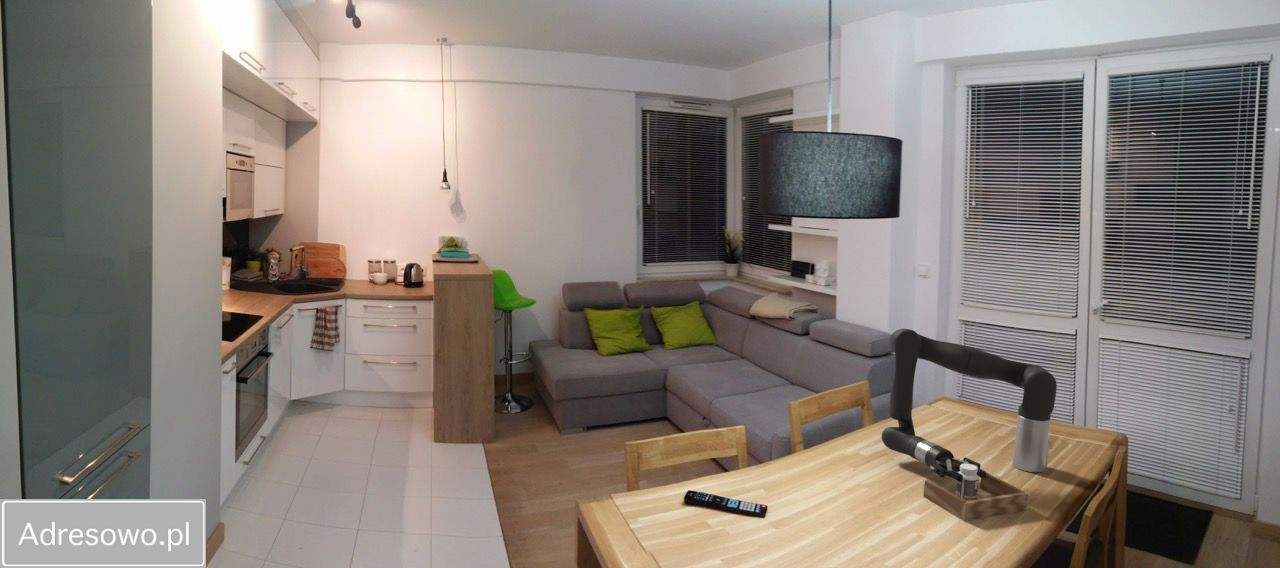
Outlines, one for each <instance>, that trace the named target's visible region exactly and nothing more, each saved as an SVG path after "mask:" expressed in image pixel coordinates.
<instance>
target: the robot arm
mask: <svg viewBox="0 0 1280 568" xmlns="http://www.w3.org/2000/svg"><path fill="white" fill-rule="evenodd" d="M888 343H889V347H890V349H891V350H892V352H893V353H894V358H895V359H894V360H895V369H894V376H893V381H892V384H891V388H890V389H891V390H890V395H889V407H888V415H889V417H890V418H891V419H893V420H895V421H897V422H898V426H889V427H886V428H884V430H883V431H882V433H881V441H882V443H883V444H884V446H885V447H886V448H887V449H889V450H892V451H894V452H898V453H900V454H904V455H906V456H909V457H911V458H912V459H914V460H916V461H918V462H919V463H921V464H922V465H923V466H926V468H927V467H928V468H929V471H930V472H932V473H934V474H935V475H936V476H938V477H940V478H942V479H943V478H945V477H947V478H949V479H951V478H952V479H953V480H954V481H956V482H957V481H958V482H962V481H963V475H962V474H960V473H959V472H960V465H961V464H971V465H974V466H976V467H977V468H978V471H977V473H976V474H977V475H978V478H979V479H981V478H982V479H985V478H986V473H987V471H985V470H984V469H982V468H981V465H982V464H981V463H979V462H976V461H975V460H972V459H971V458H968V457H963V460H961V459H959V458H956V457H955V456H954V454H953V453H952V451H951V450H949V449H947V448H946V447H943V446H941V445H939V444H936V442H935V443H934V442H932V441H930V440H927V439H925V438H923V437H921V436H918V435H916V432H915V427H914V420H913V416H912V413H913V412H912V411H913V401H914V400H913V399H914V386H915V385H914V384H915V373H916V370H917V369H916V368H917V363H918V359H920V360H925V361H927V362H930V363H933V364H935V365H938V366H940V367H942V368H945V369H946V370H950V371H953V372H955V373H957V374H961V375H963V376H968V377H971V378H976V379H981V380H994V381H1001V382H1005V383H1007V384H1010V385H1013V386H1014V387H1015V386H1016V387H1018V388H1020V389H1022V390H1023V396H1022V402H1021V404H1020V405H1019V406H1018V409H1017V420H1016V429H1015V436H1014V437H1015V439H1014V447H1013V457H1012V465H1013V467H1015V468H1016V469H1019V470H1021V471H1025V472H1030V473H1042V472H1044V471H1045V470H1047V467H1048V459H1049V453H1050V444H1051V443H1050V440H1049V433H1050V432H1049V431H1050V426H1051V425H1050V423H1051V422H1050V421H1051V415H1052V413H1053V412H1054V409H1055V403H1056V396H1057V389H1058V387H1057V379H1056V378H1055V376H1054V375H1053V374H1052V373H1051V372H1049V371H1048V370H1047V369H1045V368H1044V367H1042V366H1039V365H1036V364H1029V363H1024V362H1018V361H1014V360H1011V359H1006V358H1004V357H1002V356H998V355H996V354H993V353H990V352H988V351H984V350H982V349H978V348H974V347H971V346H968V345H963V344H959V343H954V342H949V341H943V340H941V341H940V340H937V339H932V338H929V337H927V336H924V335H922V334H919V333H917V332H916V331H915V330H913V329H911V328H910V329H909V328H900V329H897V330H895V331H894V332H892V334H891V335H890V336H889V340H888Z"/></svg>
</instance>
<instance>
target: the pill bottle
mask: <svg viewBox="0 0 1280 568" xmlns="http://www.w3.org/2000/svg"><path fill="white" fill-rule="evenodd" d="M977 471H978V468H977V467H976V466H974V465H971V464H961V465H960V472H958V473H960V474H962V475H963V481H962V482H958V481H956V486H955V487H956V489H955V496H957V497H959V498H961V499H962V500H964V501H971V500H977V499H978V490H979V479H980V477H979V476H978V475H977V474H976V473H977Z"/></svg>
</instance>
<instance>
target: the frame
mask: <svg viewBox="0 0 1280 568" xmlns="http://www.w3.org/2000/svg"><path fill="white" fill-rule="evenodd" d="M979 483H980V484H979V488H980V489H981V490H983V491H985V492H987V493H989V494H991V495H993V496H990V497H985V498H977V500H971V501H964V500H962V499H961V498H959V497H957V496H956V494H953V493H952V492H950V491H949V490H946V489H945V488H943V487H941V486H940V485H938V484H936V483H934V482H933V481H932V480H930V479H925V480H924V486H923V498H925V499H927V500H928V501H930V502H931V503H933V504H935V505H937V506H938V507H940V508H942V509H943V510H945V511H946V512H948V513H949V514H950V515H951V514H952V515H953V516H955V517H956V518H958V519H960V520H961V521H963V522H966V521H972V520H977V519H978V520H979V519H983V518H989V517H995V516H1001V515H1006V514H1013V513H1019V512H1024V510H1025V511H1027V508H1028V507H1027V506H1028V497H1029V493H1028V492H1026V491H1024V490H1022V489H1021V488H1018V487H1016V486H1014V485H1013V484H1010V483H1008V482H1006V481H1005V480H1002V479H1000V478H998V477H997V476H995V475H992V474H990V473H988V472H986V478H985V479H982V478H980V482H979ZM1018 511H1019V512H1018Z"/></svg>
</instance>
